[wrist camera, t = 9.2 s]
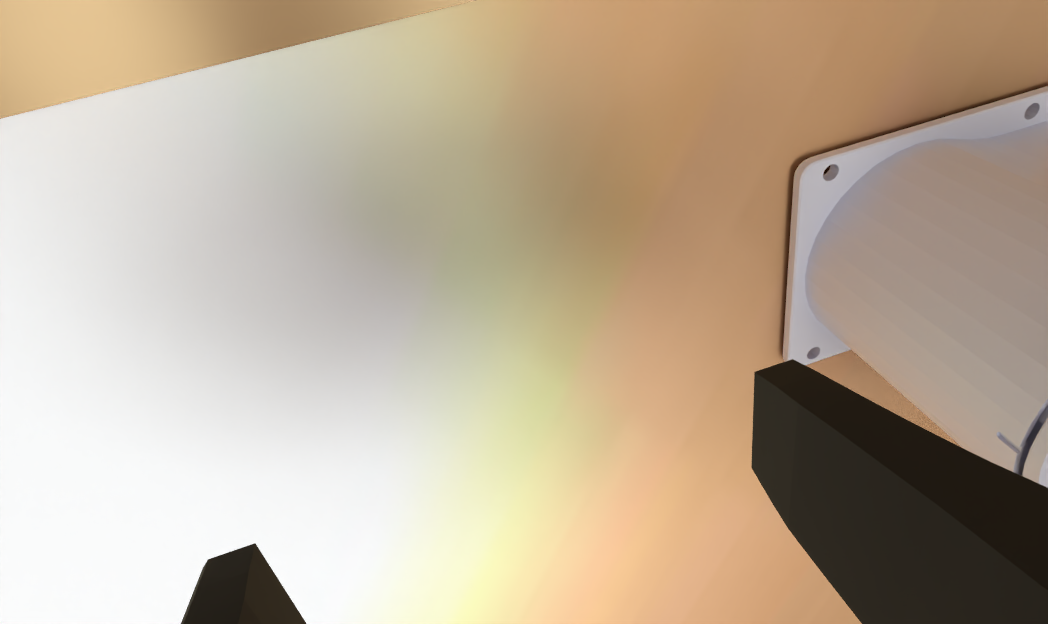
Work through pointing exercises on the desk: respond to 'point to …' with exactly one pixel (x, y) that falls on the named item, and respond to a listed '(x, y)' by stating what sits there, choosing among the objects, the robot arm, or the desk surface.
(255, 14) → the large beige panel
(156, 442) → the desk surface
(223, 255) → the desk surface
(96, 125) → the desk surface
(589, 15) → the desk surface
